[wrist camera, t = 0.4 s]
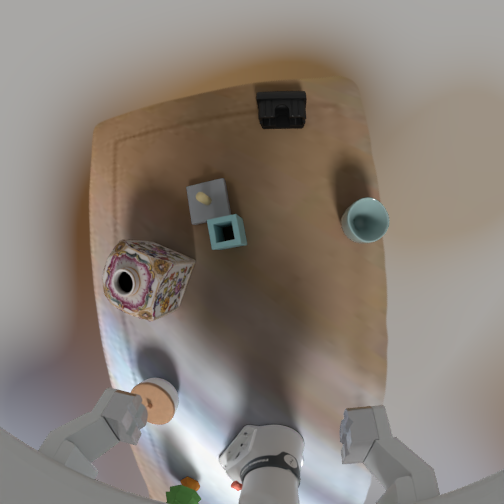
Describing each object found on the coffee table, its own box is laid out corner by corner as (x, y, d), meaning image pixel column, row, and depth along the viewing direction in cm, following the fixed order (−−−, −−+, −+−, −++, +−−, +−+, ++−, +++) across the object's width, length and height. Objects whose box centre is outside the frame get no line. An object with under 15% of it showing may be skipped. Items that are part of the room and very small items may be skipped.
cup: (330, 220, 58) (338, 214, 48) (358, 198, 57) (372, 188, 47) (352, 251, 57) (364, 251, 47) (380, 229, 57) (397, 225, 47)
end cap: (304, 101, 59) (305, 86, 52) (306, 128, 59) (307, 115, 52) (259, 102, 60) (256, 87, 53) (259, 129, 60) (256, 116, 53)
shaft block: (231, 217, 60) (224, 212, 53) (194, 224, 61) (183, 221, 54) (225, 180, 60) (217, 171, 53) (189, 188, 61) (177, 181, 54)
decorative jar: (198, 260, 61) (163, 263, 43) (180, 310, 62) (142, 330, 44) (150, 239, 62) (105, 235, 45) (135, 287, 63) (87, 298, 45)
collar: (247, 244, 60) (241, 243, 52) (221, 249, 61) (211, 249, 53) (242, 218, 60) (235, 213, 52) (217, 224, 61) (206, 219, 53)
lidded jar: (136, 378, 63) (118, 394, 54) (169, 365, 62) (152, 380, 53) (159, 414, 63) (144, 432, 53) (193, 402, 61) (180, 422, 52)
